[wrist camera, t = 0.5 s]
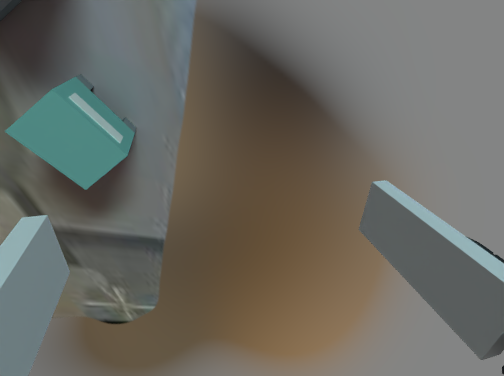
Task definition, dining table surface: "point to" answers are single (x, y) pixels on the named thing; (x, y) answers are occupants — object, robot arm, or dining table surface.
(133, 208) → the dining table surface
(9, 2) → the board
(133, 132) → the block
